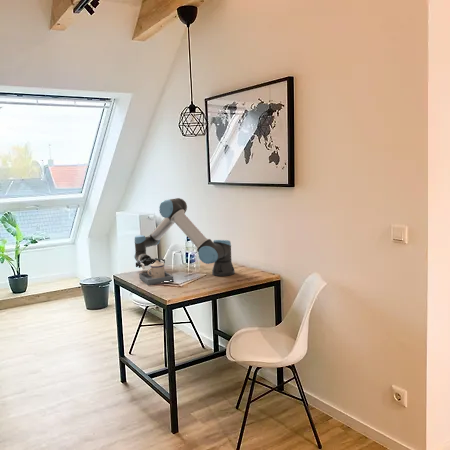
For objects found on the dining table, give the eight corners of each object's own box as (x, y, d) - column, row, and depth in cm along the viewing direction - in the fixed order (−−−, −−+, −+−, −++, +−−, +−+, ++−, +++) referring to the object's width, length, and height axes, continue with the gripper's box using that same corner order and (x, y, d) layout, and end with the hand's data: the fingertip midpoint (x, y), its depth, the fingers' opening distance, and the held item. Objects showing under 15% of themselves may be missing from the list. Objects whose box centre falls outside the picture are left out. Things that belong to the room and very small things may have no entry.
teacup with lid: (160, 275, 318) (159, 258, 317) (167, 277, 311) (166, 260, 310) (144, 279, 311) (143, 261, 310) (151, 281, 304) (150, 263, 302)
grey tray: (163, 275, 324) (163, 270, 323) (173, 281, 306) (173, 276, 305) (139, 278, 317) (139, 273, 316) (147, 285, 299) (147, 279, 298)
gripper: (162, 262, 336) (172, 268, 317) (127, 267, 326) (135, 273, 307) (161, 252, 335) (171, 257, 316) (126, 256, 325) (134, 262, 306)
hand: (153, 265), depth 311 cm, fingers open, 13 cm apart
